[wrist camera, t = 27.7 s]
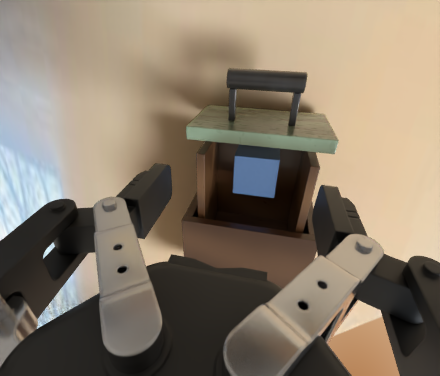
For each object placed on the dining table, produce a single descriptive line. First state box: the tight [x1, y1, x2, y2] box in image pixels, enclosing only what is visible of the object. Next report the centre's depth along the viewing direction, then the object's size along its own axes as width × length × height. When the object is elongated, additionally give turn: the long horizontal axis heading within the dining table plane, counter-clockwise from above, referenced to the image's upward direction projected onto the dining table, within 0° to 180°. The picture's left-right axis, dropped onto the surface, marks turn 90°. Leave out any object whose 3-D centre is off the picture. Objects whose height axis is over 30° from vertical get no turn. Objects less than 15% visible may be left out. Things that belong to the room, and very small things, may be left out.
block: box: [233, 144, 280, 198], centre depth 28 cm, size 4×4×4 cm
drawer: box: [186, 68, 338, 233], centre depth 27 cm, size 19×13×8 cm, turn 179°
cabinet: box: [182, 193, 317, 289], centre depth 34 cm, size 16×14×10 cm
